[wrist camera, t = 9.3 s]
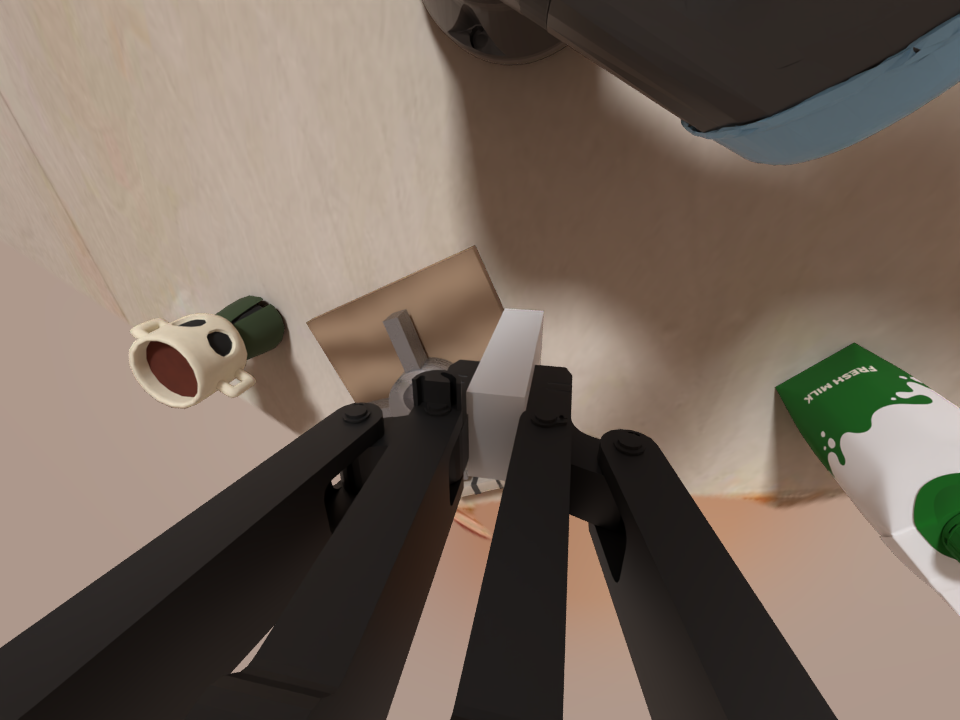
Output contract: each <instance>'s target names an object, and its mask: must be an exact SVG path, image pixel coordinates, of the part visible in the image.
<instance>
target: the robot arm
mask: <svg viewBox="0 0 960 720" xmlns="http://www.w3.org/2000/svg"><path fill="white" fill-rule="evenodd" d="M422 1H423V3H424V5H425V7H426V9H427V11H428V12H429V14H430V15H431V17H432V18H433V20H434V21H435V22H436V24H437V25H438V26H439V27H440V29H441V30H442V31H443V32H444V33H445V34H446V35H447V36H448V37H449V38H451V39H452V40H453V41H454V42H455V43H456V44H457V45H458V46H460V47H461V48H462V49H464V50H465V51H467V52H468V53H470V54H472V55H473V56H475V57H477V58H480V59H482V60H485V61H488V62H491V63H496V64H504V65H518V64H526V63H530V62H534V61H537V60H540V59H543V58H545V57H548V56H550V55H552V54H554V53H556V52H557V51H559V50H561V49H562V48H564V47H565V46H566V45H568V46H570V47H571V48H573V49H574V50H576V51H577V52H579V53H580V54H582V55H584V56H585V57H587V58H588V59H590V60H591V61H593V62H594V63H596V64H597V65H599V66H600V67H602V68H603V69H605V70H606V71H608V72H610V73H611V74H613V75H614V76H616V77H617V78H619V79H620V80H622V81H623V82H625V83H626V84H628V85H629V86H631V87H633V88H634V89H636V90H637V91H639V92H640V93H642V94H643V95H645V96H646V97H648V98H649V99H651V100H652V101H654V102H656V103H657V104H659V105H660V106H662V107H663V108H665V109H666V110H668V111H669V112H671V113H672V114H674V115H675V116H677V117H679V118H680V119H681V123H682V125H683V127H684V128H685V129H686V130H687V131H689V132H690V133H691V134H693V135H695V136H698V137H699V136H700V137H703V138H706V139H712V140H714V141H716V142H717V143H719V144H721V145H723V146H724V147H726V148H728V149H729V150H731V151H733V152H735V153H736V154H738V155H740V156H741V157H743V158H745V159H747V160H749V161H752V162H755V163H764V164H770V165H792V164H797V163H802V162H806V161H810V160H814V159H817V158H820V157H823V156H826V155H829V154H832V153H834V152H837V151H839V150H842V149H844V148H847V147H849V146H851V145H853V144H856V143H858V142H860V141H862V140H864V139H866V138H868V137H870V136H872V135H874V134H875V133H877V132H879V131H881V130H883V129H885V128H887V127H888V126H890V125H892V124H894V123H895V122H897V121H899V120H901V119H902V118H904V117H906V116H908V115H909V114H911V113H913V112H914V111H916V110H917V109H919V108H920V107H922V106H924V105H925V104H927V103H928V102H930V101H931V100H933V99H934V98H936V97H938V96H939V95H941V94H942V93H944V92H945V91H947V90H948V89H949V88H951V87H952V86H954V85H955V84H957V83H958V82H960V0H422ZM543 318H544V311H540V310H524V309H509V308H505V309H504V311H503V314H502V316H501V318H500V320H499V322H498V324H497V326H496V329H495V331H494V333H493V335H492V337H491V339H490V342H489V344H488V346H487V348H486V350H485V352H484V354H483V357H482V359H481V361H471V360H458V361H457V362H455V363H453V364H452V365H450V366H449V368H448V370H447V371H446V370H430V371H425V372H422V373H420V374H417V375H416V376H415V377H414V378H412V388H413V401H414V407H413V408H412V410H411V411H410V413H409V415H405V416H398V417H386V418H383V411H382V410H381V408H380V407H379V406H377V405H375V404H372V403H365V402H360V403H359V402H358V403H353V404H350V405H346V406H344V407H342V408H340V409H338V410H336V411H335V412H333V413H332V414H331V415H329V416H328V417H326V418H325V419H324V420H322V421H321V422H319V423H318V424H316V425H315V426H314V427H312V428H311V429H309V430H308V431H307V432H305V433H304V434H302V435H301V436H299V437H298V438H297V439H295V440H294V441H293V442H291V443H290V444H288V445H287V446H285V447H284V448H283V449H281V450H280V451H278V452H277V453H275V454H274V455H273V456H271V457H270V458H268V459H267V460H266V461H264V462H263V463H261V464H260V465H259V466H257V467H256V468H254V469H253V470H252V471H250V472H249V473H247V474H246V475H244V476H243V477H241V478H240V479H239V480H237V481H236V482H234V483H233V484H232V485H230V486H229V487H227V488H226V489H225V490H223V491H222V492H220V493H219V494H218V495H216V496H215V497H213V498H212V499H210V500H209V501H208V502H206V503H205V504H203V505H202V506H200V507H199V508H198V509H196V510H195V511H193V512H192V513H191V514H189V515H188V516H186V517H185V518H184V519H182V520H181V521H179V522H178V523H176V524H175V525H174V526H172V527H171V528H169V529H168V530H166V531H165V532H164V533H162V534H161V535H160V536H158V537H157V538H155V539H154V540H152V541H151V542H150V543H148V544H147V545H145V546H144V547H142V548H141V549H140V550H138V551H137V552H136V553H134V554H133V555H131V556H130V557H129V558H127V559H125V560H124V561H123V562H121V563H120V564H118V565H117V566H116V567H115V568H113V569H111V570H110V571H109V572H107V573H106V574H104V575H103V576H101V577H100V578H99V579H97V580H96V581H94V582H93V583H91V584H90V585H89V586H87V587H86V588H84V589H83V590H82V591H80V592H79V593H77V594H76V595H75V596H73V597H72V598H70V599H69V600H67V601H66V602H65V603H63V604H62V605H60V606H59V607H58V608H56V609H55V610H53V611H52V612H50V613H49V614H48V615H46V616H45V617H43V618H42V619H41V620H39V621H38V622H36V623H35V624H34V625H32V626H31V627H29V628H28V629H26V630H25V631H24V632H22V633H21V634H19V635H18V636H17V637H15V638H14V639H12V640H11V641H10V642H8V643H7V644H5V645H4V646H3V647H1V648H0V720H386V718H387V715H388V712H389V709H390V706H391V703H392V700H393V698H394V694H395V692H396V688H397V685H398V683H399V680H400V677H401V674H402V671H403V668H404V664H405V662H406V659H407V656H408V653H409V650H410V647H411V644H412V641H413V638H414V635H415V632H416V629H417V626H418V623H419V620H420V617H421V614H422V611H423V608H424V605H425V602H426V599H427V596H428V593H429V590H430V587H431V584H432V581H433V578H434V575H435V572H436V569H437V566H438V563H439V560H440V557H441V554H442V551H443V549H444V545H445V542H446V539H447V536H448V533H449V531H450V528H451V524H452V522H453V519H454V516H455V513H456V510H457V507H458V504H459V501H460V498H461V495H462V492H463V489H464V471H465V468H466V465H467V462H468V476H473V477H480V478H487V479H495V480H502V481H505V485H504V489H503V493H502V498H501V502H500V507H499V511H498V516H497V520H496V524H495V529H494V533H493V538H492V542H491V547H490V551H489V555H488V560H487V564H486V569H485V573H484V577H483V582H482V586H481V591H480V595H479V599H478V604H477V608H476V613H475V617H474V622H473V626H472V630H471V635H470V639H469V644H468V648H467V652H466V657H465V661H464V666H463V671H462V675H461V679H460V683H459V688H458V692H457V697H456V701H455V705H454V709H453V713H452V716H451V719H450V720H563V694H564V663H565V630H566V600H567V599H566V598H567V568H568V537H569V514H570V515H573V516H575V517H577V518H580V519H582V520H585V521H587V522H588V523H589V532H590V535H591V537H592V540H593V543H594V546H595V550H596V553H597V556H598V559H599V562H600V565H601V567H602V571H603V574H604V577H605V580H606V583H607V586H608V589H609V592H610V595H611V598H612V601H613V604H614V607H615V610H616V613H617V616H618V619H619V622H620V625H621V628H622V631H623V634H624V637H625V640H626V643H627V646H628V649H629V652H630V655H631V658H632V661H633V664H634V667H635V670H636V673H637V676H638V679H639V682H640V686H641V689H642V692H643V694H644V697H645V700H646V704H647V706H648V710H649V713H650V715H651V719H652V720H838V719H837V718H836V716H835V715H834V713H833V712H832V710H831V709H830V707H829V705H828V704H827V702H826V701H825V699H824V698H823V696H822V695H821V693H820V692H819V690H818V689H817V687H816V686H815V684H814V683H813V681H812V680H811V678H810V676H809V675H808V673H807V672H806V670H805V669H804V667H803V666H802V665H801V663H800V661H799V660H798V658H797V657H796V655H795V654H794V652H793V651H792V649H791V648H790V646H789V645H788V643H787V642H786V640H785V639H784V637H783V635H782V634H781V632H780V631H779V629H778V628H777V626H776V625H775V623H774V622H773V620H772V619H771V617H770V616H769V614H768V613H767V611H766V610H765V608H764V606H763V605H762V603H761V602H760V601H759V599H758V597H757V596H756V594H755V593H754V591H753V590H752V588H751V587H750V585H749V584H748V582H747V581H746V579H745V578H744V576H743V575H742V573H741V571H740V570H739V568H738V567H737V565H736V564H735V562H734V561H733V560H732V558H731V556H730V555H729V553H728V552H727V550H726V549H725V547H724V546H723V544H722V543H721V541H720V539H719V538H718V536H717V535H716V534H715V532H714V530H713V529H712V527H711V526H710V524H709V523H708V521H707V520H706V518H705V517H704V515H703V514H702V512H701V511H700V509H699V507H698V506H697V504H696V503H695V501H694V500H693V498H692V497H691V495H690V494H689V492H688V491H687V489H686V488H685V486H684V485H683V483H682V482H681V480H680V479H679V477H678V476H677V474H676V472H675V471H674V469H673V468H672V466H671V465H670V463H669V462H668V460H667V459H666V457H665V456H664V454H663V453H662V451H661V450H660V448H659V447H658V445H657V444H656V443H655V442H654V441H653V440H652V439H651V438H649V437H647V436H646V435H644V434H642V433H639V432H635V431H632V430H623V429H618V430H611V431H609V432H607V433H605V434H603V436H602V437H601V439H597V438H594V437H591V436H589V435H586V434H584V433H583V432H581V431H579V430H578V429H577V428H576V427H575V426H574V424H573V423H572V420H571V400H572V375H571V373H570V372H569V371H568V369H567V368H565V367H554V366H542V365H541V349H542V333H543ZM339 473H340V476H341V480H340V481H339V482H338V483H337V484H335V485H334V486H333V485H332V482H331V480H332V479H333V478H334V477H336V476H337V475H338V474H339ZM273 626H274V627H273ZM272 627H273V629H272V630H271V632H270V633H269V635H268V636H267V638H266V640H265V641H264V643H263V644H262V646H261V648H260V649H259V651H258V652H257V654H256V655H255V657H254V658H253V660H252V661H251V662H250V663H249V665H248V666H247V667H246V668H245V669H243V670H242V671H241V672H237V673H232V674H230V673H231V672H232V671H233V670H234V669H235V668H236V667H237V666H238V664H239V663H240V662H241V661H242V660H243V659H244V658H245V657H246V656H247V655H248V653H249V652H250V651H251V650H252V649H253V648H254V647H255V646H256V645H257V644H258V643H259V641H260V640H261V639H262V638H263V637H264V636H265V635H266V634H267V633H268V632H269V630H270V629H271V628H272Z"/></svg>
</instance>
